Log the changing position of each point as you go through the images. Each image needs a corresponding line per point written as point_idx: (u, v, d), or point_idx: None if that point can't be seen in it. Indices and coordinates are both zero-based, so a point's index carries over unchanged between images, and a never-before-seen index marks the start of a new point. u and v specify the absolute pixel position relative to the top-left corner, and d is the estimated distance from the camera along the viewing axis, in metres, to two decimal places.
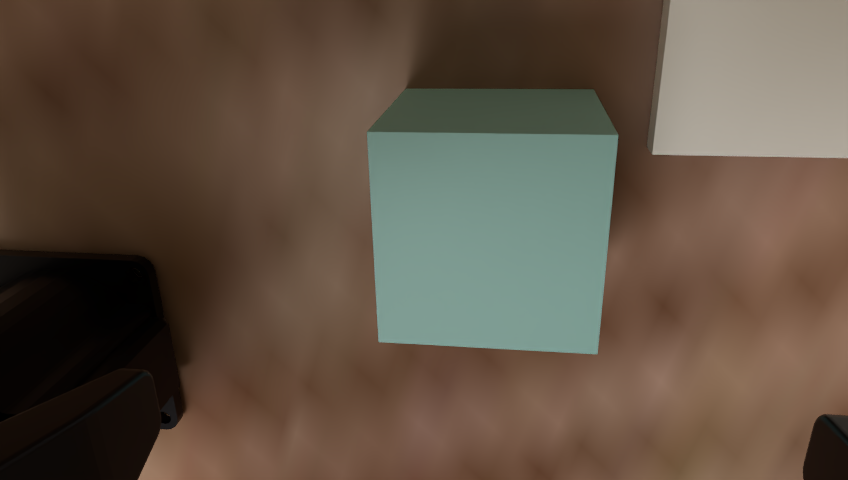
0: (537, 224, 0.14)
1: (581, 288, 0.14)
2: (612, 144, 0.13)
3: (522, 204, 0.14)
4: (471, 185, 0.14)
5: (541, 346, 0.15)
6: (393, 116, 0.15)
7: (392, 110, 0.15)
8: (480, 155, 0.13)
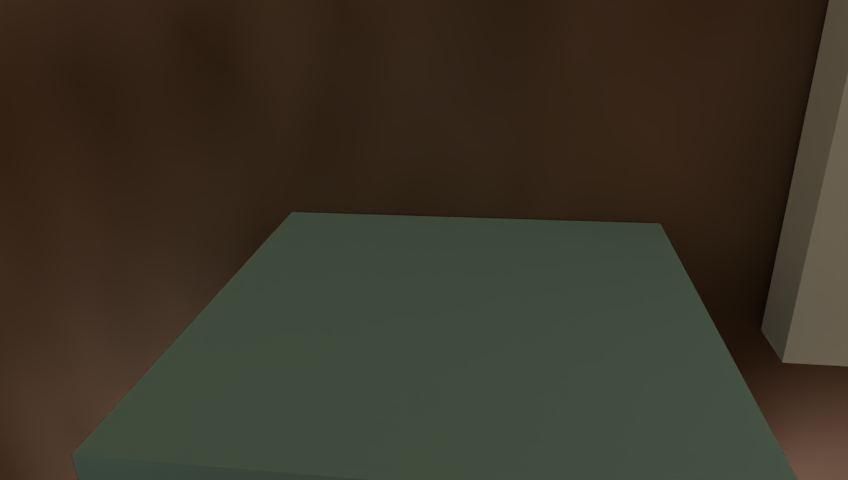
0: None
1: None
2: None
3: None
4: None
5: None
6: (199, 348, 0.06)
7: (214, 313, 0.07)
8: None
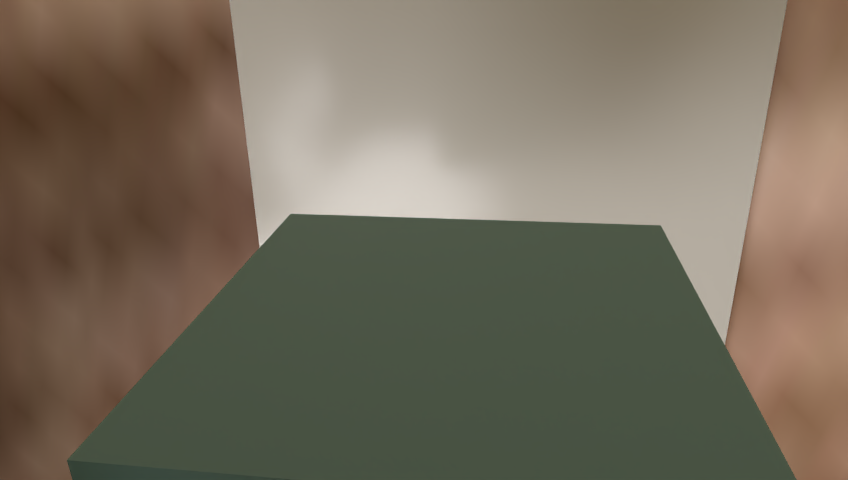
0: None
1: None
2: None
3: None
4: None
5: None
6: (197, 351, 0.06)
7: (212, 316, 0.07)
8: None
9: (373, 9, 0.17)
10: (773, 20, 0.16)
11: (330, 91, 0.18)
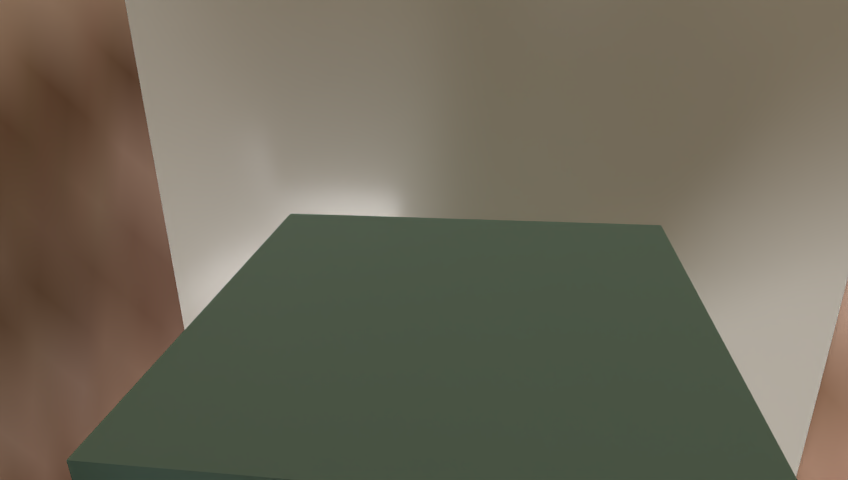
0: None
1: None
2: None
3: None
4: None
5: None
6: (197, 351, 0.06)
7: (212, 315, 0.07)
8: None
9: (323, 28, 0.12)
10: None
11: (268, 137, 0.13)
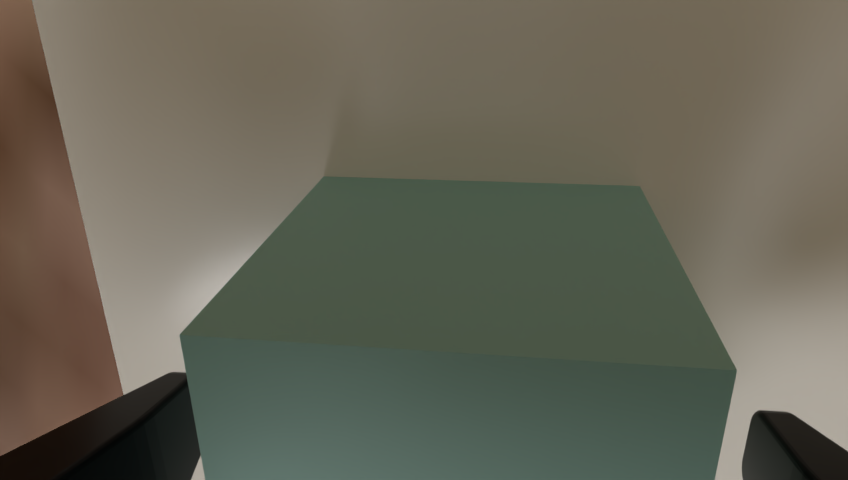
0: None
1: None
2: (721, 389, 0.06)
3: None
4: (408, 446, 0.06)
5: None
6: (263, 270, 0.08)
7: (271, 247, 0.08)
8: (424, 393, 0.06)
9: (275, 46, 0.10)
10: None
11: (213, 176, 0.11)
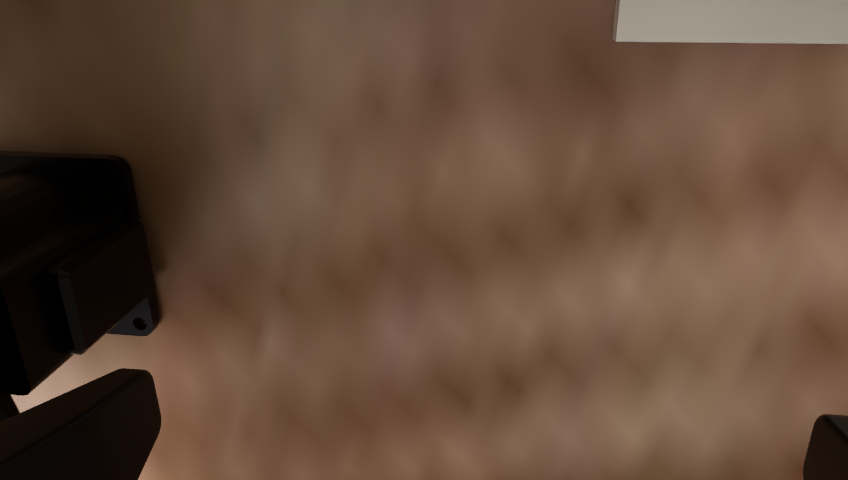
0: None
1: None
2: None
3: None
4: None
5: None
6: None
7: None
8: None
9: None
10: None
11: None
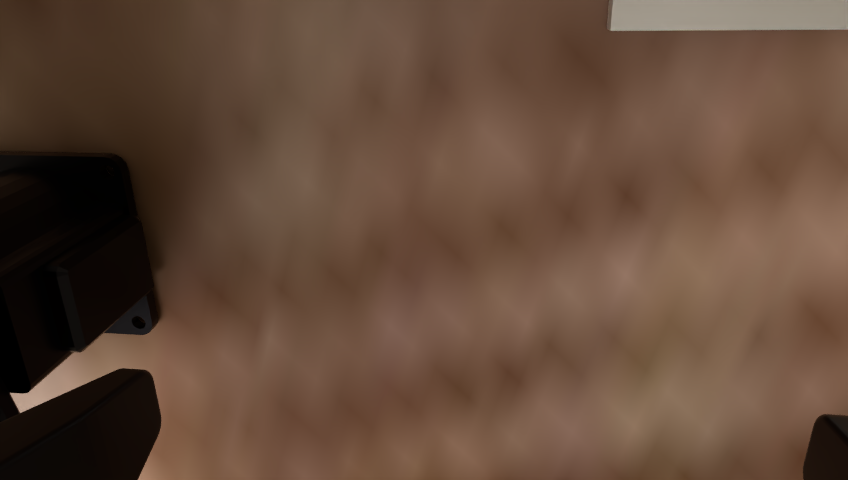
0: None
1: None
2: None
3: None
4: None
5: None
6: None
7: None
8: None
9: None
10: None
11: None
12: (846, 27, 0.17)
